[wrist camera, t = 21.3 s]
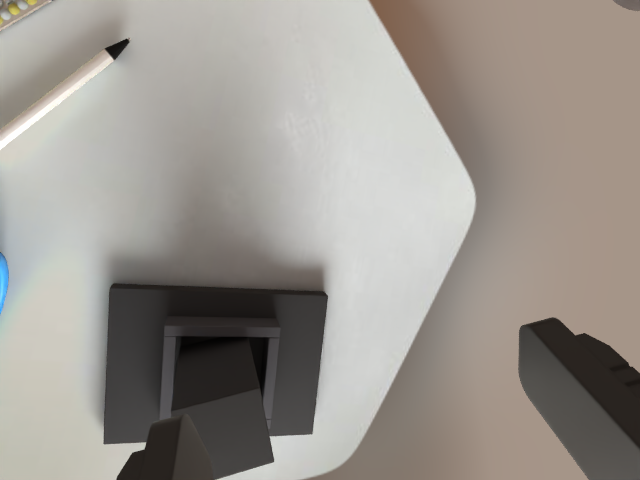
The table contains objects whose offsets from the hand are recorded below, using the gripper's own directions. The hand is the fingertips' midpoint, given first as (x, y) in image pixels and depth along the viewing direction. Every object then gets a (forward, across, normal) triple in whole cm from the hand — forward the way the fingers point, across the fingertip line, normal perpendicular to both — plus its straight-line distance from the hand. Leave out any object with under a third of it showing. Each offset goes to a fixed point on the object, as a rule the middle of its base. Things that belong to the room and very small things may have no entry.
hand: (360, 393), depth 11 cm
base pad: (+20, +9, +15) cm, 27 cm away
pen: (+25, +17, -5) cm, 30 cm away
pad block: (+19, +9, +15) cm, 26 cm away
